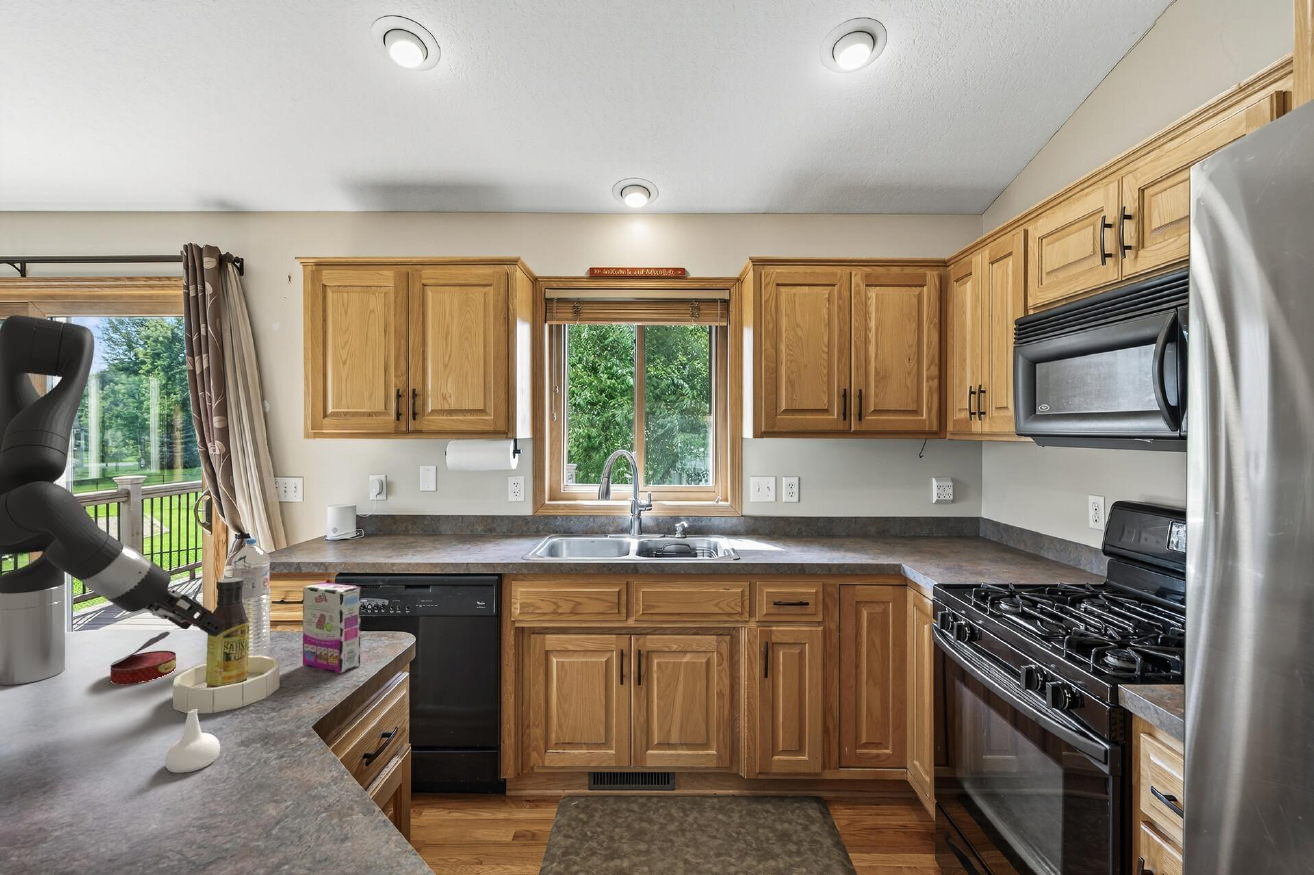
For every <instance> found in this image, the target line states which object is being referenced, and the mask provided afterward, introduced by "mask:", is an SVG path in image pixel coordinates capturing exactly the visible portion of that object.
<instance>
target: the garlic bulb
mask: <svg viewBox="0 0 1314 875" xmlns="http://www.w3.org/2000/svg"><path fill="white" fill-rule="evenodd" d="M197 710H198V709H192V710H191V711H190V712H188V713H187V716H186V720H185V726H184V732H183V735H182V738H181V739H179V740H177V741H176V742H175V743H174V744H173V745H171V747H170V748H169V750H168V751H167V753H166V755H165V762H164V764H165V767H166V769H167V770H168V771H169V772H171V773H175V774H184V773H185V772H186V773H191V772H195V771H198V770H201V769H204V768H205V767H207V766H209V765H211V764H212V763H214V762H215V761H216V760H217V758H218V757H219V755H220V752H221V744H220V740H219V739H218V738H217V737H216V736H215V735H213V734H211V733H207V732H202V729H201V725H200V722H199V717H198V713H197Z"/></svg>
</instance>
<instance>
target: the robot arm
mask: <svg viewBox="0 0 1314 875" xmlns="http://www.w3.org/2000/svg"><path fill="white" fill-rule="evenodd" d="M94 352H95V338H94V334H93V332H92V330H91V329H90V328H88V327H86V326H84V325H80V324H75V323H71V322H64V321H58V320H53V319H48V318H47V319H46V318H40V317H34V316H27V315H18V314H17V315H10V316H8V317H7V318H5V319H4V320H3V321H2V323H1V325H0V556H12V555H13V556H14V555H21V554H30V553H31V554H32V553H40V552H41V554H40V556H39V557H38V558H37V559H35V560H33V561H31V562H30V563H28V564H25V565H24V566H22V567H19V568H17V569H14V570H11V571H8V572H6V573H3V574H1V575H0V685H2V686H4V685H5V686H6V685H7V686H9V685H11V686H12V685H21V684H28V683H33V682H37V681H41V680H45V679H49V678H51V677H54V676H56V675H58V674H61V673H62V672H64V671H65V669H66V577H65V576H66V574H68V575H69V576H71V577H73V578H74V579H76V580H77V581H78V582H81V583H82V584H83V585H84V586H85V587H87V588H88V589H89V590H91V591H92V592H93V593H96V594H97V595H98V596H100V597H102V598H103V599H106V600H107V601H109V602H111V603H112V604H114V605H115V606H117V607H118V608H120V609H122V610H124V611H126V612H128V613H136V612H139V611H142V610H145V611H147V612H149V613H150V614H152V616H153V617H158V618H161V619H162V620H168V621H169V622H170V623H172V624H174V625H175V626H178V627H179V628H180V629H183V630H188V629H189V628H190V627H191V626H193V627H195V628H199V629H200V630H201V631H203V632H204V633H205V634H207V635H208V634H209V635H211V636H217V635H218V634H219V632H220V631H221V630H222V629H223V627H224V625H223V624H221V623H220V622H218V621H217V620H215V619H214V618H212V617H211V615H212V614H213V612H212V610H209V609H207V608H206V607H205V606H203V605H201V604H200V603H198V602H196V600H194V599H192V598H190V596H189V595H187V594H182V593H181V592H179V591H177V590H175V589H172V590H170V589H169V587H170V586H169V585H170V584H171V579H172V578H171V574H170V573H169V572H168V571H167V570H165V569H164V568H162V567H161V566H159V565H158V564H157V563H155V562H154V561H152V560H150V559H149V558H148V557H146V556H145V555H143V554H142V553H141V552H139V551H137V549H134V548H132V547H130V546H128V545H126V544H124V543H122V542H121V541H120V540H118V539H116V538H115V537H114V536H112V535H111V534H109V533H108V532H106V531H105V530H103V529H102V528H100V526H99V525H98V524H97V523H96V522H95V520H94V519H93V518H92V516H91V515H90V514H89V513H88V511H87V510H86V509H85V507H84V506H83V505H82V503H81V502H80V501H79V500H78V498H77V497H76V496H75V495H74V494H73V493H72V492H71V491H70V490H69V489H67V488H65V487H63V486H61V485H59V484H57V483H54V482H57V481H58V480H59V479H60V478H61V477H62V476H63V475H64V473H65V471H66V468H67V464H68V457H69V456H68V454H69V447H70V440H71V434H72V429H73V426H74V421H75V419H76V416H77V414H78V410H79V408H80V405H81V404H82V399H83V396H84V393H85V391H86V387H87V383H88V380H89V376H90V372H91V370H92V365H93V359H94ZM29 374H31V375H41V376H49V377H58V378H60V380H59V381H58V383H57V384H56V385H55V386H54V387H53V388H52V389H50V390H49V391H48V392H47V393H46V394H44V395H42V396H41V395H40V394H39V393H38V392H37V391H38V390H36V388H35V386H34V384H33V382H32V379H31V377H30V375H29ZM197 613H199V614H198V615H197ZM195 615H197V616H196V617H195Z"/></svg>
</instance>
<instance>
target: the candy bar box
mask: <svg viewBox="0 0 1314 875" xmlns="http://www.w3.org/2000/svg"><path fill="white" fill-rule="evenodd" d="M302 588H303V589H302V591H303V593H302V594H303V595H302V596H303V598H302V666H303V667H307V668H312V669H316V670H321V671H325V672H331V673H336V674H344V673H347V672H348V671H351V670H354V669H356V668H359V667H360V666H361V596H362V595H361V593H362V592H361V590H362V589H361V588H362V587H361V586H355V585H350V584H349V585H348V584H347V585H346V584H340V583H339V584H338V583H331V582H323V581H322V582H318V583H313V584H310V585H306V586H303V587H302Z"/></svg>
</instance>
